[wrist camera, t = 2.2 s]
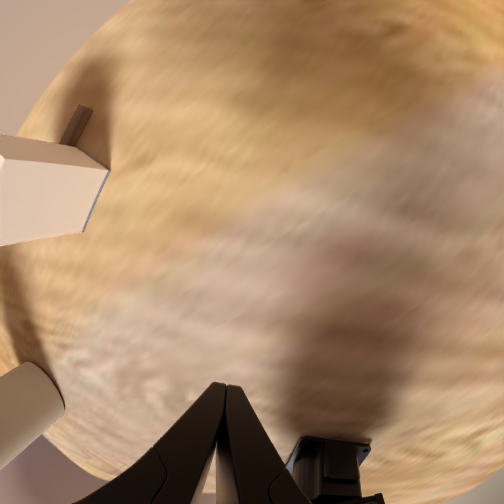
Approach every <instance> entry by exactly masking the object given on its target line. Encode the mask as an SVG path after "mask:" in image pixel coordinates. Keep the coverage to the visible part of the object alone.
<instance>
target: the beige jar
mask: <svg viewBox="0 0 504 504" xmlns="http://www.w3.org/2000/svg"><path fill="white" fill-rule="evenodd" d="M63 414H64V405H63V402H62V399H61V397H60V394H59V392H58V390H57V389H56V387H55V385H54V384H53V382H52V381H51V379H50V378H49V377H48V376H47V375H46V374H45V373H44V372H43V371H42V370H41V369H40V368H39V367H38V366H36V365H35V364H33V363H31V362H24V363H23V364H21V365H19V366H18V367H16V368H14V369H13V370H11V371H9V372H8V373H6V374H4V375H3V376H1V377H0V470H1V469H2V468H3V467H4V466H6V465H7V464H8V463H9V462H10V461H11V460H12V459H13V458H15V457H16V456H17V455H18V454H19V453H20V452H21V451H23V450H24V449H25V448H26V447H27V446H28V445H29V444H30V443H32V442H33V441H34V440H35V439H36V438H37V437H38V436H40V435H41V434H42V433H43V432H44V431H45V430H47V429H48V428H49V427H50V426H51V425H52V424H53V423H54V422H56V421H57V420H58V419H59V418H60V417H61V416H62V415H63Z"/></svg>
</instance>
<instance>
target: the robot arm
mask: <svg viewBox="0 0 504 504" xmlns="http://www.w3.org/2000/svg"><path fill="white" fill-rule="evenodd" d="M304 441H307V442H304ZM216 444H217V445H216ZM215 448H216V504H385V502H384V499H383V495H382V493H378V494H375V495H373V496H368V497H363V498H362V494H361V485H360V472H359V466H360V465H361V463H362V462H363V461H364V459H365V458H366V457H367V455H368V454H369V452H370V451H371V447H370V445H369V444H362V443H352V442H343V441H335V440H328V439H321V438H315V437H309V436H304V437H302V438H301V439H300V440H299V442H298V444H297V446H296V448H295V450H294V452H293V454H292V456H291V457H290V459H289V461H288V463H287V465H286V466H285V464H284V462H283V461H282V459H281V457H280V456H279V454H278V452H277V451H276V449H275V447H274V445H273V444H272V442H271V440H270V439H269V437H268V435H267V433H266V432H265V430H264V428H263V426H262V424H261V423H260V421H259V419H258V417H257V415H256V414H255V412H254V410H253V408H252V406H251V404H250V403H249V401H248V399H247V397H246V395H245V393H244V391H243V389H242V388H241V387H240V386H236V385H230V384H229V385H227V386H226V384H224V383H219V382H212V383H211V384H210V386H209V387H208V388H207V389H206V390H205V391H204V392H203V393H202V394H201V395H200V397H199V398H198V399H197V400H196V401H195V402H194V403H193V404H192V405H191V406H190V407H189V409H188V410H187V411H186V412H185V413H184V414H183V415H182V416H181V417H180V418H179V419H178V420H177V421H176V422H175V423H174V425H173V426H172V427H171V428H170V429H169V430H168V431H167V432H166V433H165V434H164V435H163V436H162V437H161V438H160V439H159V440H158V441H157V442H156V443H155V444H154V445H153V447H151V448H150V449H149V450H148V451H147V452H146V453H145V454H144V455H143V456H142V457H141V458H140V459H139V460H137V461H136V462H135V463H134V464H133V465H132V466H131V467H129V468H128V469H127V470H125V471H124V472H123V473H121V474H120V475H119V476H117V477H116V478H114V479H113V480H111V481H110V482H108V483H107V484H105V485H104V486H102V487H101V488H99V489H98V490H96V491H94V492H93V493H92V494H90V495H88V496H86V497H85V498H83V499H81V500H79V501H77V502H75V503H72V504H198V503H199V500H200V497H201V494H202V491H203V488H204V484H205V481H206V478H207V475H208V472H209V469H210V465H211V462H212V459H213V456H214V452H215Z"/></svg>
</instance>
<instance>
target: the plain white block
mask: <svg viewBox="0 0 504 504" xmlns="http://www.w3.org/2000/svg"><path fill="white" fill-rule="evenodd" d="M109 173H110V170H109V169H107V168H106V167H105V166H103V165H102V164H100V163H99V162H97V161H96V160H95V159H93V158H92V157H90V156H89V155H88V154H86V153H85V152H83V151H82V150H80V149H79V148H77V147H72V146H67V145H61V144H56V143H51V142H45V141H39V140H33V139H27V138H21V137H14V136H7V135H0V246H5V245H11V244H16V243H21V242H27V241H32V240H38V239H44V238H49V237H55V236H61V235H68V234H74V233H80V232H84V230H85V228H86V225H87V223H88V220H89V218H90V215H91V213H92V210H93V208H94V206H95V203H96V201H97V199H98V197H99V194H100V192H101V190H102V188H103V186H104V183H105V181H106V179H107V177H108V175H109Z"/></svg>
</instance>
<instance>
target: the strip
mask: <svg viewBox="0 0 504 504" xmlns="http://www.w3.org/2000/svg"><path fill="white" fill-rule="evenodd" d="M91 113H92V110H90V109H88V108H86V107H84V106H81V105H78V107H77V109H76V111H75V113H74V115H73V117H72V119H71V121H70V123H69V125H68V127H67V129H66V131H65V133H64V135H63V137H62V139H61V142H60V144H61V145H67V146H72V147H75V144H76V142H77V140H78V138H79V136H80V134H81V132H82V130H83V128H84V126H85V124H86V122H87V120H88V118H89V117H90V115H91Z"/></svg>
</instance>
